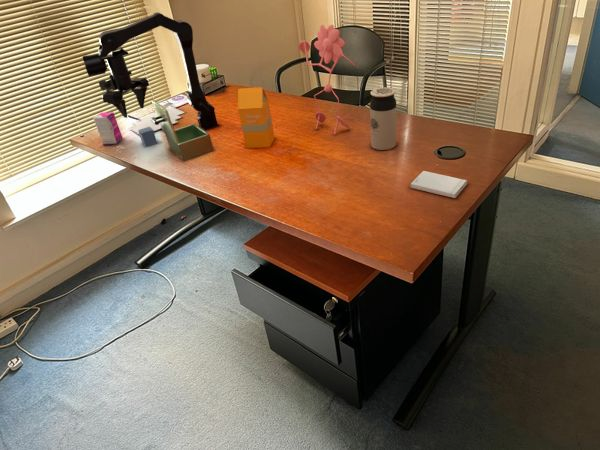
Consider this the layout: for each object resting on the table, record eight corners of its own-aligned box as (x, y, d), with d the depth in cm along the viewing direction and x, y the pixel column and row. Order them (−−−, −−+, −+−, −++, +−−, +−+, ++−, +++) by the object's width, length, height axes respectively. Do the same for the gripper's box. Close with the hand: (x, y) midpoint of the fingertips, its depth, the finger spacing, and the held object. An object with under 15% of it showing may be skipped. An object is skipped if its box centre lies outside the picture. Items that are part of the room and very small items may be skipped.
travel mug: (390, 138, 148) (389, 85, 138) (400, 147, 142) (400, 92, 132) (367, 143, 147) (365, 90, 137) (376, 152, 141) (375, 97, 131)
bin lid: (153, 99, 154) (141, 104, 152) (167, 109, 143) (154, 114, 142) (165, 131, 161) (154, 135, 159) (179, 143, 150) (167, 147, 149)
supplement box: (116, 144, 174) (105, 117, 168) (103, 145, 176) (92, 118, 169) (123, 138, 179) (113, 111, 172) (111, 139, 180) (100, 112, 174)
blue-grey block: (154, 139, 174) (149, 126, 171) (157, 143, 171) (153, 129, 167) (142, 143, 172) (137, 130, 169) (146, 147, 169) (141, 133, 166)
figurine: (351, 140, 151) (344, 31, 131) (298, 126, 167) (285, 27, 147) (379, 124, 159) (376, 20, 139) (326, 112, 175) (317, 17, 155)
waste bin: (198, 138, 169) (194, 123, 165) (213, 150, 158) (209, 134, 155) (170, 148, 164) (165, 133, 161) (183, 161, 154) (178, 144, 150)
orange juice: (251, 138, 163) (241, 84, 151) (274, 137, 161) (265, 83, 149) (245, 148, 156) (234, 92, 145) (269, 147, 154) (259, 91, 143)
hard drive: (410, 183, 120) (455, 193, 113) (423, 170, 125) (467, 179, 118) (410, 188, 121) (454, 199, 114) (423, 175, 126) (466, 184, 119)
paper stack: (120, 124, 193) (119, 123, 192) (171, 106, 205) (170, 105, 205) (141, 137, 177) (141, 135, 177) (195, 116, 189) (195, 115, 189)
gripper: (119, 62, 164) (133, 103, 173) (82, 78, 151) (100, 122, 159) (143, 62, 160) (156, 103, 169) (107, 78, 146) (123, 123, 155)
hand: (134, 112), depth 163 cm, fingers open, 9 cm apart
